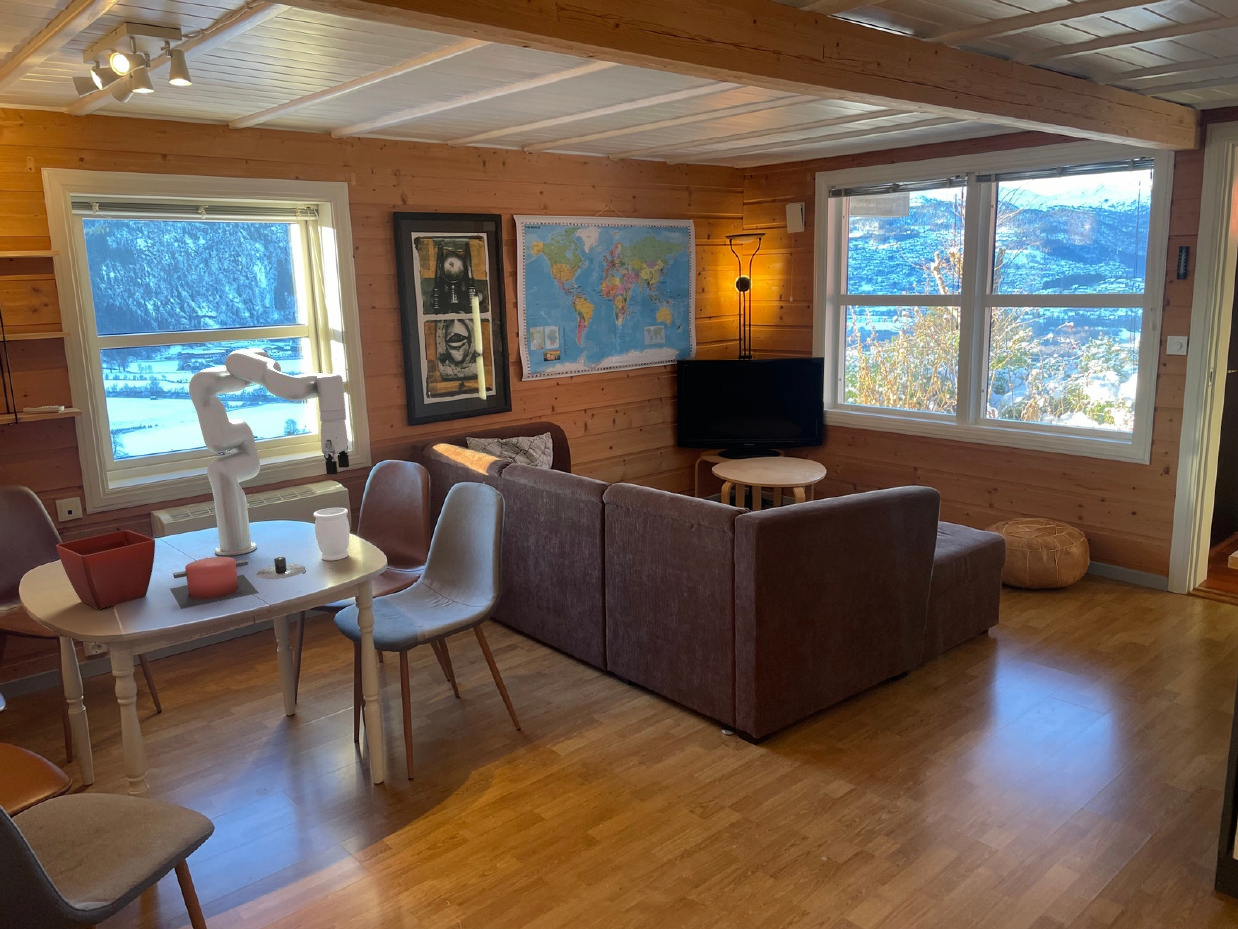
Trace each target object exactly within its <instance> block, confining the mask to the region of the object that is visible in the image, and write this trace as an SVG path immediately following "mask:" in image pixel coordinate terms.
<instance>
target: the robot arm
mask: <svg viewBox="0 0 1238 929" xmlns="http://www.w3.org/2000/svg"><path fill="white" fill-rule="evenodd" d="M253 383H254V384H257V385H260V386H262V387H264V388H265V389H266V391H268V392H269V393H270V394H271V395H272V396H275V397H278V398H281V399H285V400H288V401H291V402H301V401H306V400H310V399H317V400H318V411H319V419H320V420H319V421H320V422H321V423H320V443H321V446H320V447H321V448H320V449H321V453H322V454H323V458H324V462H325V469H326V470H325V472H326V475H337V474H338V468H343V469H344V468H345V469H346V468H349V467H350V461H349V460H350V458H349V450H348V448H349V438H348V433H347V432H348V431H347V426H346V425H347V424H346V420H347V413H346V412H347V410H346V402H345V400H346V399H345V391H344V381H343V377H342V376H341V375H340V374H337V373H331V374H329V373H328V374H327V373H326V374H324V373H319V372H311V373H310V372H309V373H304V374H303V373H302V374H298V375H297V374H296V375H289V374H287V373H283V372H282V367H281V365H280V363H279V362H278V361H277V360H274V359H271V358H270V355H269V354H268V353H267V351H265V350H263V349H261V348H248V349H238V350H235V351H231V352H230V353H229V354H228V355H227V356H226V358H225V360H224V366H217V367H216V366H215V367H210V368H205V369H202V370H200V371H198V372H195V374H193V376H192V377H191V379H190V382H189V384H188V392H189V393H188V394H189V397H190V399H191V402H192V405H193V406H194V409H195V411H196V415H197V419H198V423H199V426H200V431H201V434H202V438H203V442H204V444H205V447H206V449H207V450H209V451H210V452H212V453H222V452H227V451H231V452H232V453H229V454H226V455H222V456H219V457H217V458H214V459H212V460H211V462H210V463H208V466H207V469H206V470H207V471H206V472H207V473H206V474H207V478H208V480H209V484H210V486H211V489H212V496H213V501H214V510H215V517H216V519H215V520H216V525H217V533H218V541H219V542H218V543H219V545H218V546H217V547H215V549H214V552H215V554H216V555H218V556H223V557H230V556H237V555H242V554H247V553H250V552H253V551H255V550H257V543H255V542H254V541H253V542H252V538H251V530H250V522H249V521H250V520H249V513H248V502H247V498H246V497H247V496H246V494H245V491H244V489H243V488H242V487H241V485H240V483H241V482H244V481H247V480H248V481H249V480H251V479H253V478H255V477H256V476H257V475H258V474H259V473H260V470H261V462H260V456H259V453H258V449H257V445H256V440H255V436H254V434H253V431H252V429H251V427H250V426H249V424H248V423H247V422H246V421H244V420H243V419H239V418H233V419H231V418H230V419H229V417H228V414H227V409H226V407H225V405H224V403H223V402H222V401H221V399H219V397H217V396H219V395H222V394H229V393H235V392H239V391H242V390H244V389H245V388H247V387H249V386H251V385H252V384H253ZM336 456H337V460H336Z"/></svg>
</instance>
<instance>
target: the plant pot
mask: <svg viewBox="0 0 1238 929" xmlns="http://www.w3.org/2000/svg"><path fill="white" fill-rule="evenodd" d="M55 547H56V550H57V554H58V556H59V560H60V562H61V564H62V567H63V569H64V571H65V574H66V576H67V578H68V580H69V582H70V584H71V586H72V588H73V590H74V592H75V593H76V595H77V597H78V598H79V600H80V601H81V602H82V601H83V602H82V603H84V602H85V604H86V603H87V605H88V604H89V605H88V606H90V605H91V607H92V606H93V607H92V608H94V607H95V608H94V609H96V608H97V609H96V610H101V609H100V608H104V609H106V608H105V607H107V608H109V607H108V606H111V607H115V605H119V604H122V603H126V602H131V601H133V600H136V599H140V598H144V597H146V596H147V593H148V590H149V585H150V583H151V577H152V574H153V567H154V560H155V551H156V539H155V538H153V537H149V536H146V535H143V534H140V533H138V532H135V531H132V530H129V529H124V530H119V531H115V532H108V533H104V534H100V535H94V536H90V537H85V538H82V539H76V540H75V539H74V540H71V541H70V540H69V541H66V542H63V543H62V542H61V543H58V544H56V545H55Z"/></svg>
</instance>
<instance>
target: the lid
mask: <svg viewBox="0 0 1238 929" xmlns="http://www.w3.org/2000/svg"><path fill="white" fill-rule="evenodd" d="M273 563H274V565H272V566H267V567H265V568H262V569H260V570H259V571H257V572H256V574H255V575H256V577H257V578H259V579H262V580H264V579H265V580H280V579H287V578H290V577H295V576H297V575H298V576H299V575H300V574H302V575H304V574H305V573H306V569H307V568H306V566H305V565H302V564H297V563H287V560H286V557H285V556H278V557H275V558H274V559H273Z"/></svg>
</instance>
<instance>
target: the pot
mask: <svg viewBox="0 0 1238 929" xmlns="http://www.w3.org/2000/svg"><path fill="white" fill-rule="evenodd" d="M248 565H249V562H248V560H247V559H242V560H237V561H236V559H235V558H234V557H230V556H214V557H213V556H212V557H205V558H200V559H197V560H193V561H192V562H189V563H187V564H186V565H185V566H184V568H185V569H184V570H183V571H181V570H180V571H178V572H177V571H176V572H172V576H173V578H174V579H179V578H180V579H181V578H185V577H186V584H187V585H188V593H189V596H190V597H192V598H197V599H208V598H216V597H221V596H225V595H228V594H231V593H233V592H235V591H236V590H237V589H238V588H239V587H238V578H237V576H238V572H237V571H238V570H237V568H239V567H244V566H248Z"/></svg>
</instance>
